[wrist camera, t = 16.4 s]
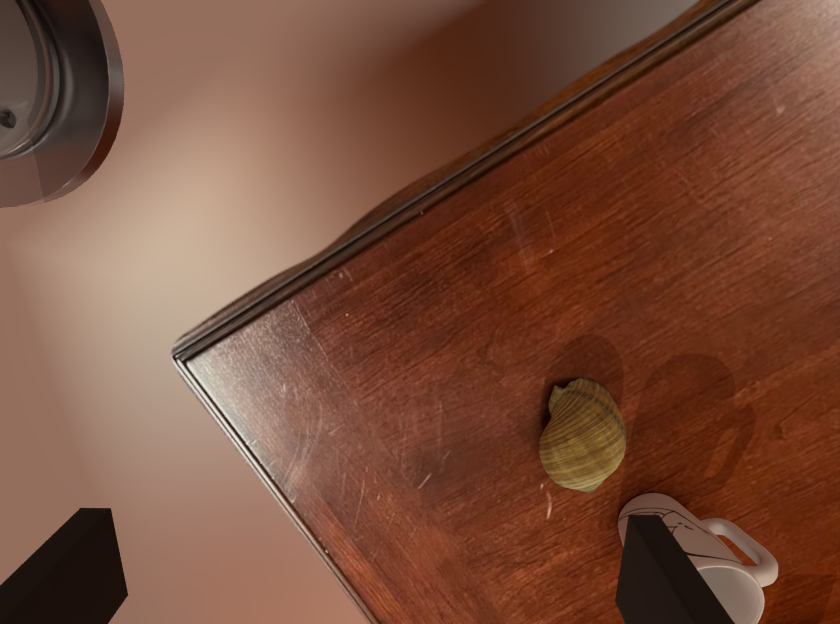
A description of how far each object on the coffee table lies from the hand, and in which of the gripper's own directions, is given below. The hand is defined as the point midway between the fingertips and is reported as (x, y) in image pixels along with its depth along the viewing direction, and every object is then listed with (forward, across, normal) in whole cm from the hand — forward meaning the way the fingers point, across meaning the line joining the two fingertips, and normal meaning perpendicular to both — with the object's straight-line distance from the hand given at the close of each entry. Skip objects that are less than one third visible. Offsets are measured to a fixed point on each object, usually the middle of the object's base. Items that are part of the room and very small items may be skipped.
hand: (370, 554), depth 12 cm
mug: (+29, +25, -22) cm, 44 cm away
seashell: (+29, +15, -12) cm, 35 cm away
